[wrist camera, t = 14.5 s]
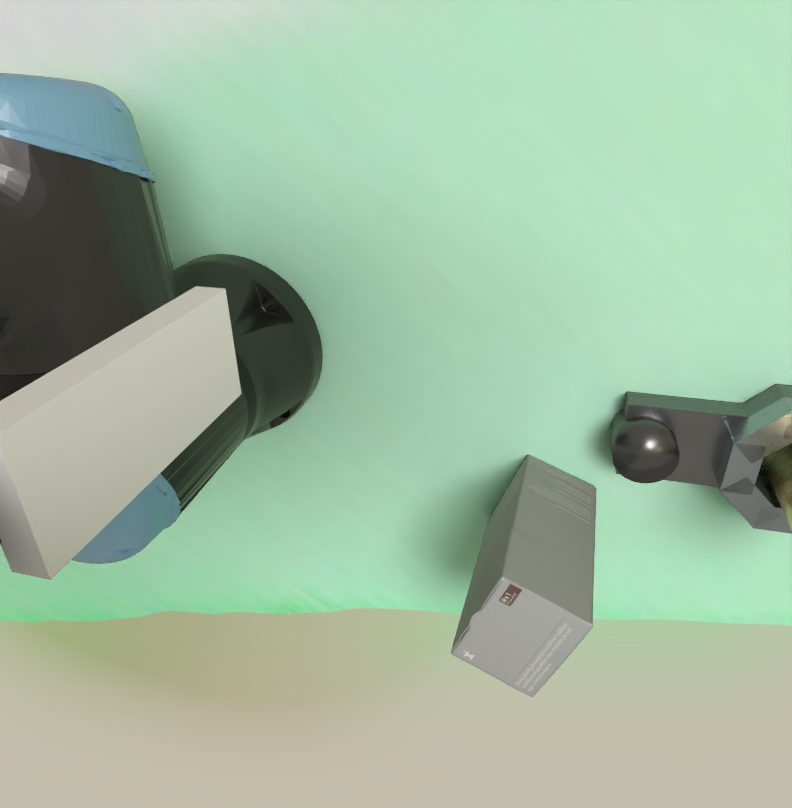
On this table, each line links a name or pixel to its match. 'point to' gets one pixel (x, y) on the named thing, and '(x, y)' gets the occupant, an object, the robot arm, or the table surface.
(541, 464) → the skincare box
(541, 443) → the table surface
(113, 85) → the table surface
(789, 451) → the brass pin
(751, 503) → the grey socket base
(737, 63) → the table surface
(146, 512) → the robot arm
